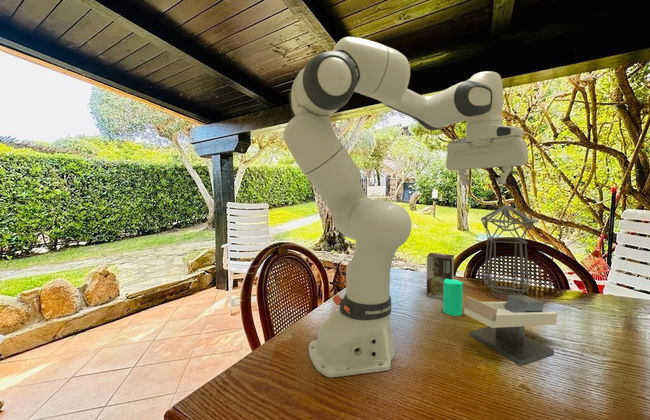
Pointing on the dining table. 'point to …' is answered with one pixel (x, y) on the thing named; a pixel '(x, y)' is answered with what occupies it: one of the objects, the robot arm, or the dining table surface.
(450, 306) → the candle
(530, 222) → the geometric lantern
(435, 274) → the coffee box
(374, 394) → the dining table surface
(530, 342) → the pivot stand
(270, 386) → the dining table surface
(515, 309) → the block
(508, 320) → the beam
